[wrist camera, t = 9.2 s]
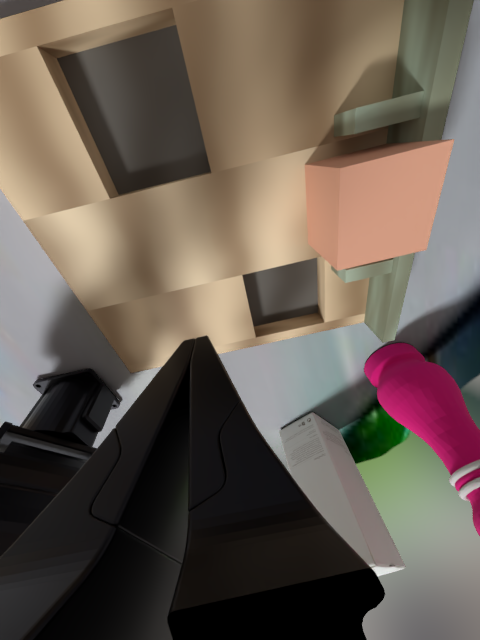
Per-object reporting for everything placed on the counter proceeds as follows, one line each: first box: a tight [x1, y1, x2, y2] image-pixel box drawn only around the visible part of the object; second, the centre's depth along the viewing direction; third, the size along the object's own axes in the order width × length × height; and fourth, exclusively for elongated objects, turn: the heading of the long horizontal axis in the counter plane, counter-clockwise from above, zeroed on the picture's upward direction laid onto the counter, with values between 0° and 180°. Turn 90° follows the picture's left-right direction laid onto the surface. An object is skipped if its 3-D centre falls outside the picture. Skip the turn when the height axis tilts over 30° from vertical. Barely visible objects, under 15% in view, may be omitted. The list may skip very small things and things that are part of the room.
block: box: [305, 139, 454, 271], centre depth 14 cm, size 5×5×5 cm
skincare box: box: [279, 412, 406, 577], centre depth 30 cm, size 8×7×16 cm
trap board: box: [0, 0, 474, 373], centre depth 16 cm, size 24×22×5 cm
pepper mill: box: [364, 343, 480, 536], centre depth 21 cm, size 7×7×20 cm
